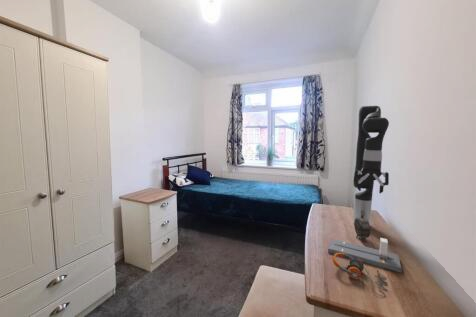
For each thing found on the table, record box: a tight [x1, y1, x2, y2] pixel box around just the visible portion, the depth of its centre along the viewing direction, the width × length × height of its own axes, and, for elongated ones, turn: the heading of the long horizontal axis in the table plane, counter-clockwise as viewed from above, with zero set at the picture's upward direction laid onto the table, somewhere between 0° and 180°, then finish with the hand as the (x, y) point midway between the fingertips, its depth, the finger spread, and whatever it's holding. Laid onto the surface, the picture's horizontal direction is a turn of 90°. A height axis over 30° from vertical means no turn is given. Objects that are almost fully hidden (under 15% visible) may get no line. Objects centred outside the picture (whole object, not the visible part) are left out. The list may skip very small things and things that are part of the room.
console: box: [327, 238, 402, 273], centre depth 97 cm, size 12×28×2 cm, turn 58°
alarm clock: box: [353, 210, 371, 243], centre depth 114 cm, size 11×5×16 cm, turn 168°
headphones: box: [332, 253, 389, 297], centre depth 82 cm, size 17×5×20 cm
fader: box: [378, 237, 389, 259], centre depth 93 cm, size 5×3×7 cm, turn 148°
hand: (369, 191), depth 102 cm, fingers open, 8 cm apart
